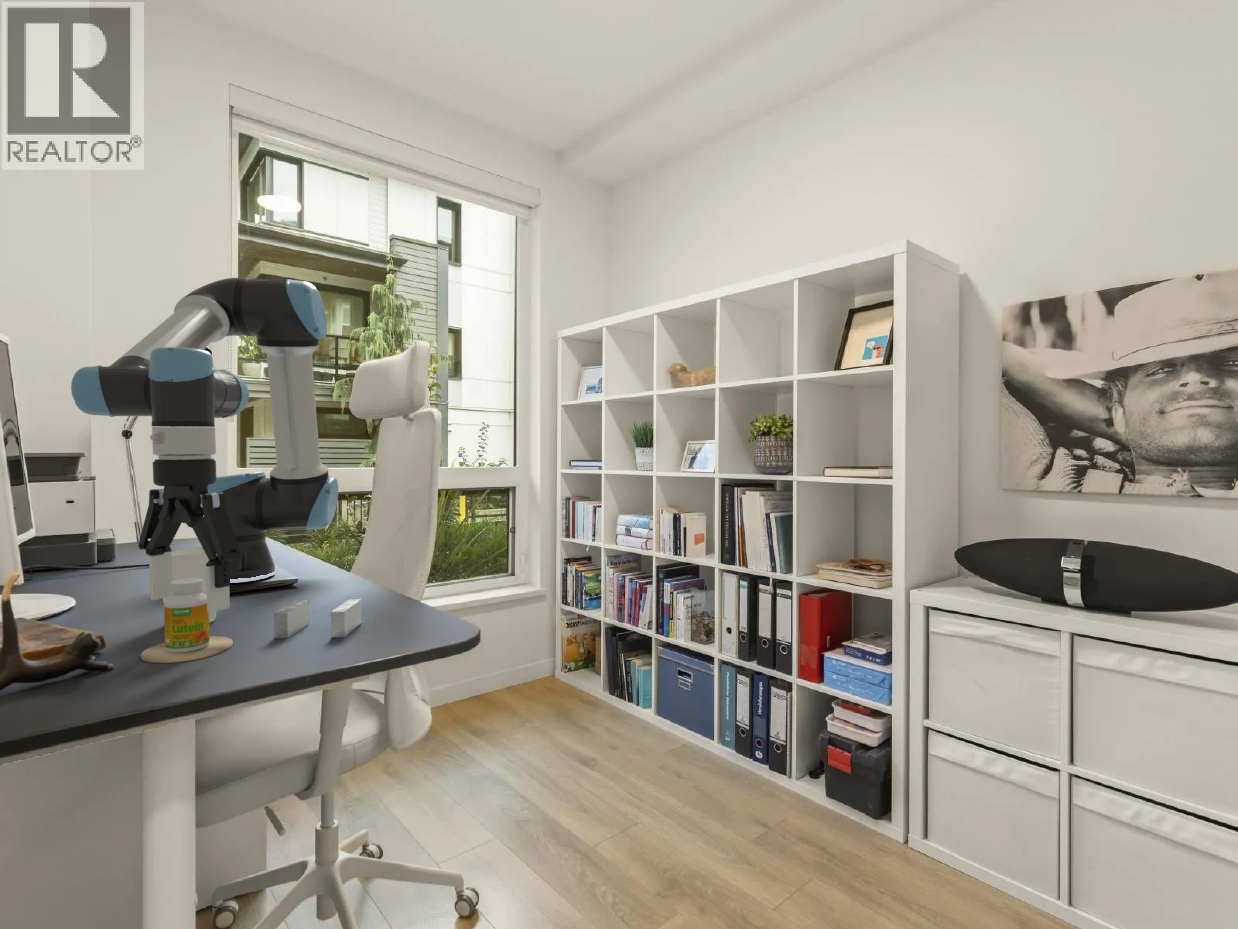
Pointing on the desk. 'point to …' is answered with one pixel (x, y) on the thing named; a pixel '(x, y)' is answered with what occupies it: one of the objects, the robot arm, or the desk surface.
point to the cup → (190, 568)
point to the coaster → (162, 656)
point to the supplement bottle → (186, 616)
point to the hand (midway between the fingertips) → (189, 603)
